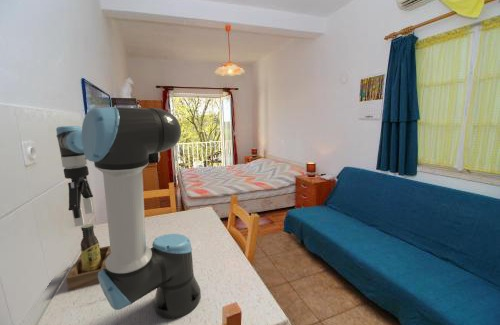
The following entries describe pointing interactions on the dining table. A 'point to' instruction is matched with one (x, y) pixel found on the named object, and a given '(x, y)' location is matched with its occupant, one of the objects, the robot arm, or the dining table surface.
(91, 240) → the sauce bottle
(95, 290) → the dining table surface
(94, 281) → the caddy
